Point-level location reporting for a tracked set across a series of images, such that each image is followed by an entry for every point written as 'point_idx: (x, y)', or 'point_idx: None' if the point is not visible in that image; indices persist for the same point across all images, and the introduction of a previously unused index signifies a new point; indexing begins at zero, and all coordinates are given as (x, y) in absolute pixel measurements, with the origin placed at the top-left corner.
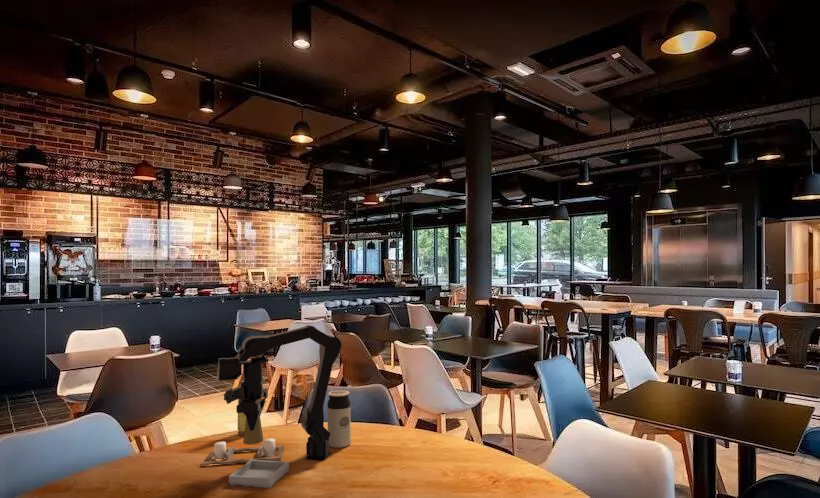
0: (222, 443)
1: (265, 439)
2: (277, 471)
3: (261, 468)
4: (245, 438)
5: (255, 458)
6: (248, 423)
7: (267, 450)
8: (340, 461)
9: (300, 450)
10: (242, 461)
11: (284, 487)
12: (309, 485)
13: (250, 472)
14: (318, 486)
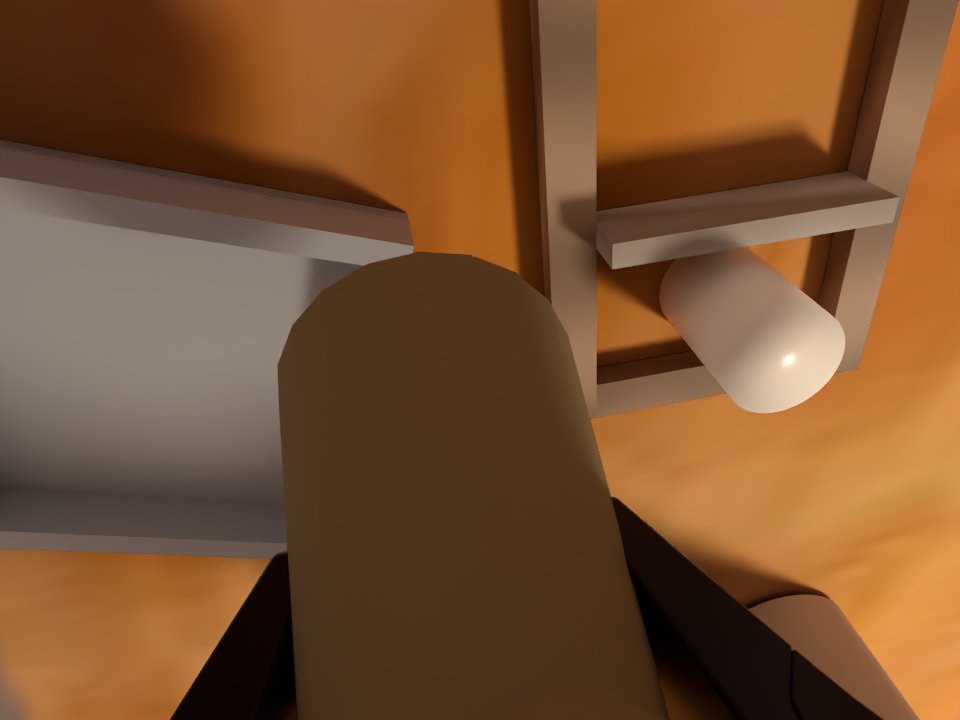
0: None
1: (823, 314)
2: (126, 549)
3: None
4: (302, 368)
5: (579, 215)
6: (190, 702)
7: (687, 312)
8: None
9: (743, 474)
10: (537, 83)
11: (29, 567)
12: (103, 668)
13: (234, 268)
14: (100, 704)
